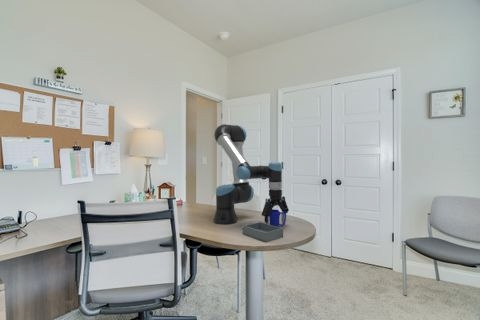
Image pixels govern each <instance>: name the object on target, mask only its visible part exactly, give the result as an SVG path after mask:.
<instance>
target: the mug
mask: <svg viewBox="0 0 480 320" xmlns="http://www.w3.org/2000/svg"><path fill="white" fill-rule="evenodd" d="M282 214H285V221H284V223H283V224H282V223H280V217H281V215H282ZM269 217H270V225H273V226H276V227H279V226H281V227H283V226H285V225H286V224H285V222H286V223H287V213H285V212H282V211H280V210H279V209H274V208H272V210H271V212H270V214H269Z"/></svg>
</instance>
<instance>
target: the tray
mask: <svg viewBox="0 0 480 320" xmlns="http://www.w3.org/2000/svg"><path fill="white" fill-rule="evenodd" d="M242 235H244V236H247V237H251V238H252V239H256V240H258V241H262V242H264V243H268V242H271V241H275V240H277V239H282V238H284V228H282V227H279V226H278V227H276V226H273V225H269V224H265V222H261V221H258V222H254V223H249V224H245V225H242Z"/></svg>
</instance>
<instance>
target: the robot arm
mask: <svg viewBox="0 0 480 320" xmlns="http://www.w3.org/2000/svg"><path fill="white" fill-rule="evenodd" d="M213 135H214V136H213V137H214V139H215V143H217V144H218V145H219V146H220V147H222V149H223V150H224V152H225V154H226V156H228V158H229V160H230V161H231V166H232V176H233V182H232V184H231V183H230V184H228V183H227V184H222V185H219V186H217V187H216V190H215V200H216V201H215V204H216V206H215V208H216V209H215V213H214V217H213V223H215V224H218V225H231V224H235V223H237V222H238V217H237V213H236V210H235V205H237V204H243V203H244V204H246V203H248V202H251V201H252V199H253V198H254V195H255V194H254V192H255V191H254V188H253V186H252V185H251V184H250V182H249V181H248V180H254V179H255V180H256V179H268V196H269V198H265V201H264V205H263V209H262V212H261V216H262V217H264V223H265V224H269V225H270V217H269V214H270V212H271V210H272V209H274V207H276V206H278V208H279V209H280V210H281V212H285V213H286V214H288V213H289V211H290V210H289V207H288V204H287V202H286V197H285V196H283V190H282V188H283V180H282V179H283V176H282V174H283V173H282V172H283V168H282V162H269V163H268V165H250V163H249V162H248V161H247V159H246V158H245V156H244V151H243V150H244V149H243V145H244V144H245V141H246V140H247V139H246V138H247V131H246V129H245V128H244V127H243V126H241V125H236V124H224V123H223V124H221V125H219V126H217V127H216V128H215V130H214V134H213ZM284 221H285V214H281V224H283V223H284ZM284 225H287V221H286V222H285V224H284Z"/></svg>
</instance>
